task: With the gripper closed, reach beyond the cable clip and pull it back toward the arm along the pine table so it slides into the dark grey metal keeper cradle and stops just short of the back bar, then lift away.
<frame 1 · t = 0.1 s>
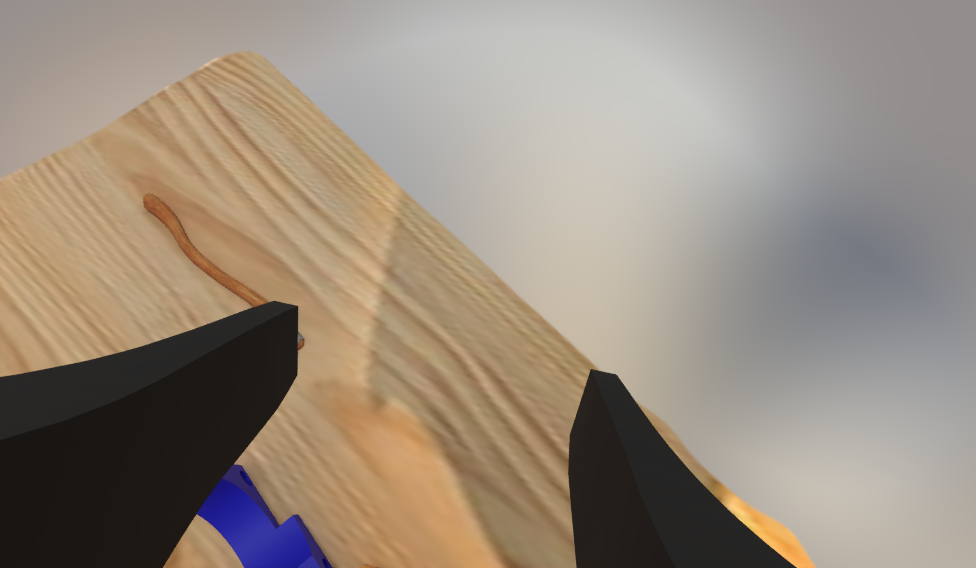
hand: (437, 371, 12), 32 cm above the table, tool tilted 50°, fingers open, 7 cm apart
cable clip: (274, 534, 39), on the table
axe: (205, 292, 46), on the table
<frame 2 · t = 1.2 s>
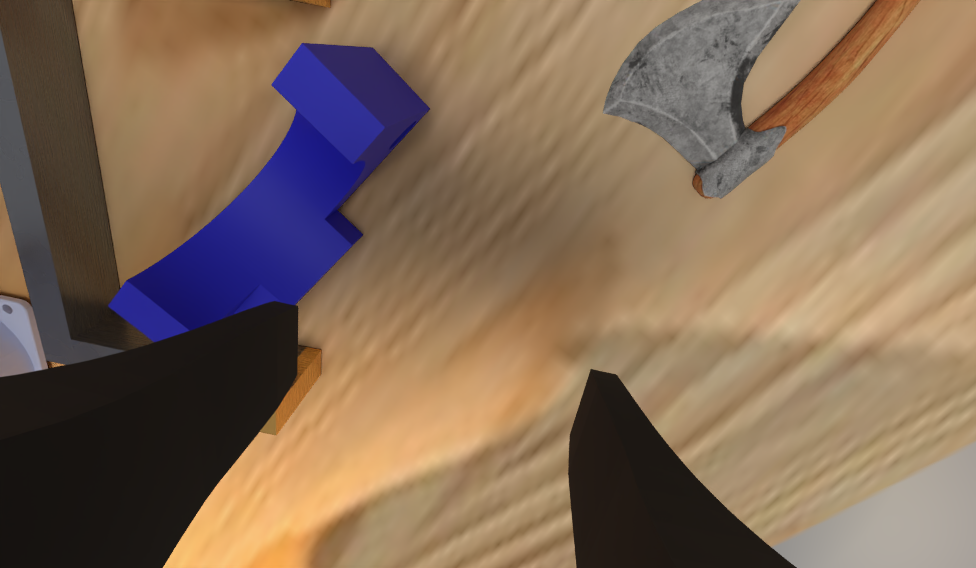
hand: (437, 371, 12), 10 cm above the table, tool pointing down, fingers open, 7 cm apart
keeper cradle: (169, 173, 22), on the table
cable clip: (327, 195, 22), on the table
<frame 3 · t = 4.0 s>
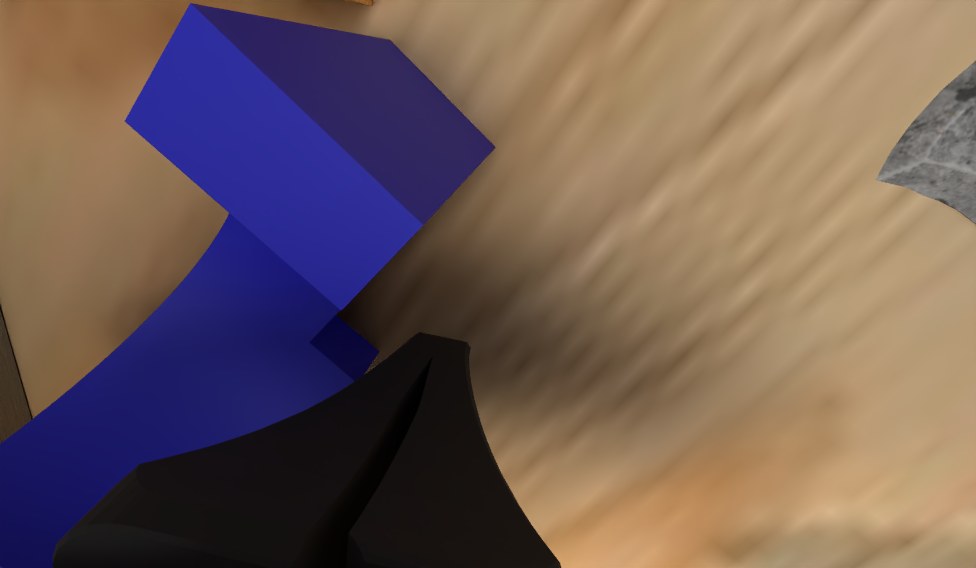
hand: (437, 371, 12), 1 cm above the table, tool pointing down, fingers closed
keeper cradle: (97, 274, 13), on the table
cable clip: (317, 291, 13), on the table, touching gripper
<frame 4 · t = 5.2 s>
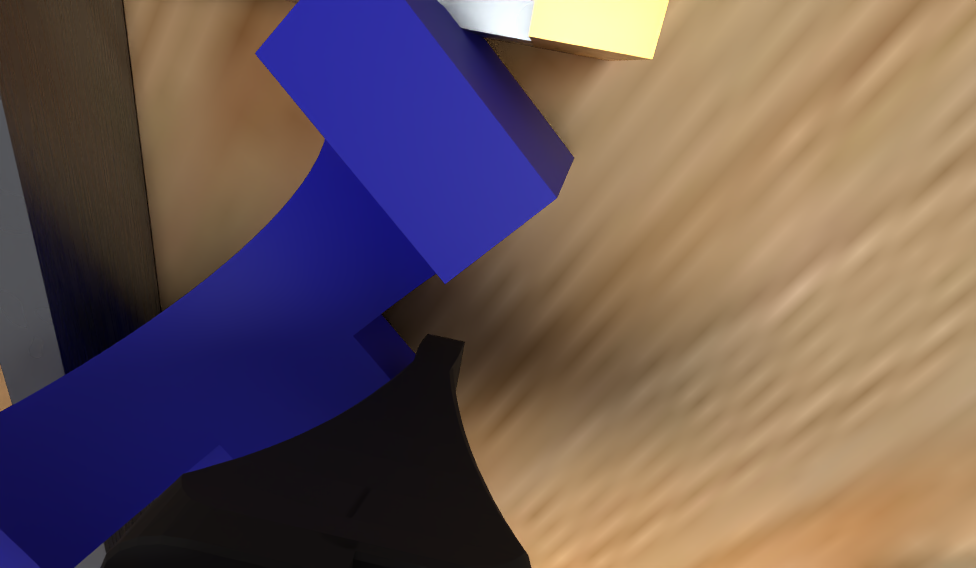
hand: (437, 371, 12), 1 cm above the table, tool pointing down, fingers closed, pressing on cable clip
keeper cradle: (275, 315, 13), on the table
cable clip: (363, 286, 13), on the table, touching gripper, keeper cradle
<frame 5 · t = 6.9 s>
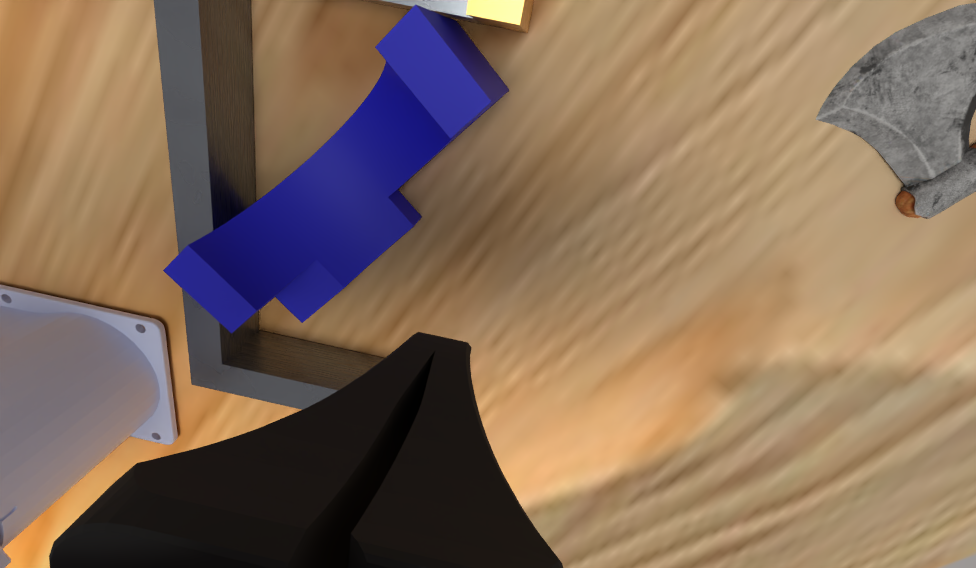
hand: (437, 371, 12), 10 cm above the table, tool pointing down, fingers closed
keeper cradle: (328, 196, 21), on the table
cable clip: (388, 173, 21), on the table
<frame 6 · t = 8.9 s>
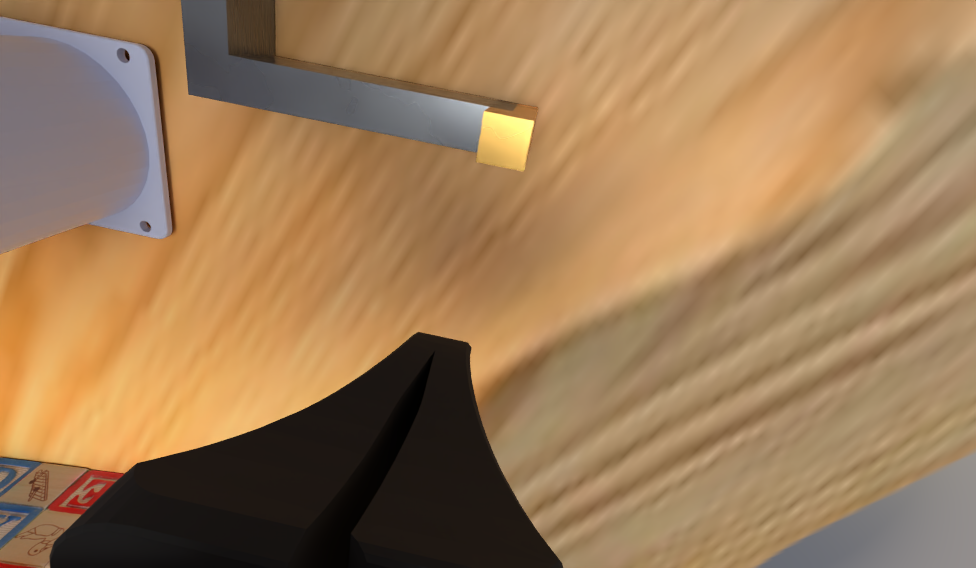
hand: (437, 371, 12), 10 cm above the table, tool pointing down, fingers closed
stack of blocks: (174, 509, 31), on the table
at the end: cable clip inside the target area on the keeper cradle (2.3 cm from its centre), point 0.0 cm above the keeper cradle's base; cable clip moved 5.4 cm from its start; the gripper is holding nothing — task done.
